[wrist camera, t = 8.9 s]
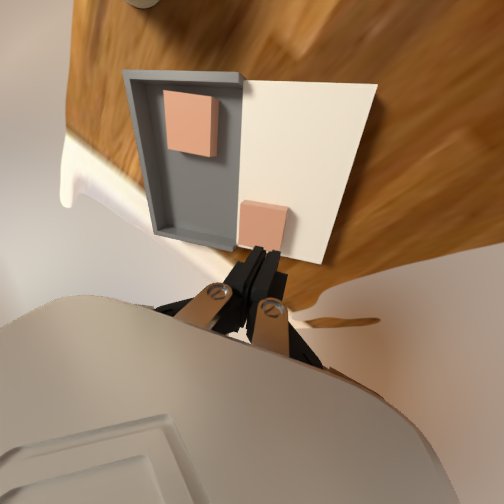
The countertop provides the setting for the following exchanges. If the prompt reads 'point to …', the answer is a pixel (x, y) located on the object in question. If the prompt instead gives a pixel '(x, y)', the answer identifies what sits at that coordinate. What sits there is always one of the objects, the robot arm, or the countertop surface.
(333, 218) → the plate
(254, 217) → the tile
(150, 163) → the tray
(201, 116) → the tile
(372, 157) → the countertop surface
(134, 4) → the can
